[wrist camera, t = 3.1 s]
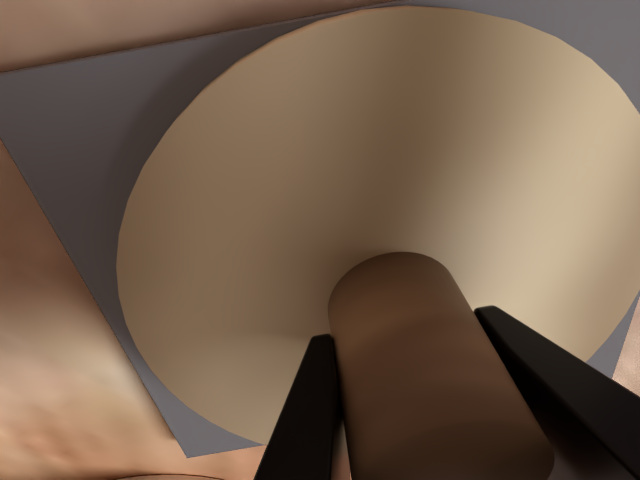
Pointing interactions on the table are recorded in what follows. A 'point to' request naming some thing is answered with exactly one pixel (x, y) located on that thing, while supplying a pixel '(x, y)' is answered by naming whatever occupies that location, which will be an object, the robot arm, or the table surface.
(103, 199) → the mat
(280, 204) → the lid
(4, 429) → the table surface
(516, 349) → the robot arm
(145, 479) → the bowl
